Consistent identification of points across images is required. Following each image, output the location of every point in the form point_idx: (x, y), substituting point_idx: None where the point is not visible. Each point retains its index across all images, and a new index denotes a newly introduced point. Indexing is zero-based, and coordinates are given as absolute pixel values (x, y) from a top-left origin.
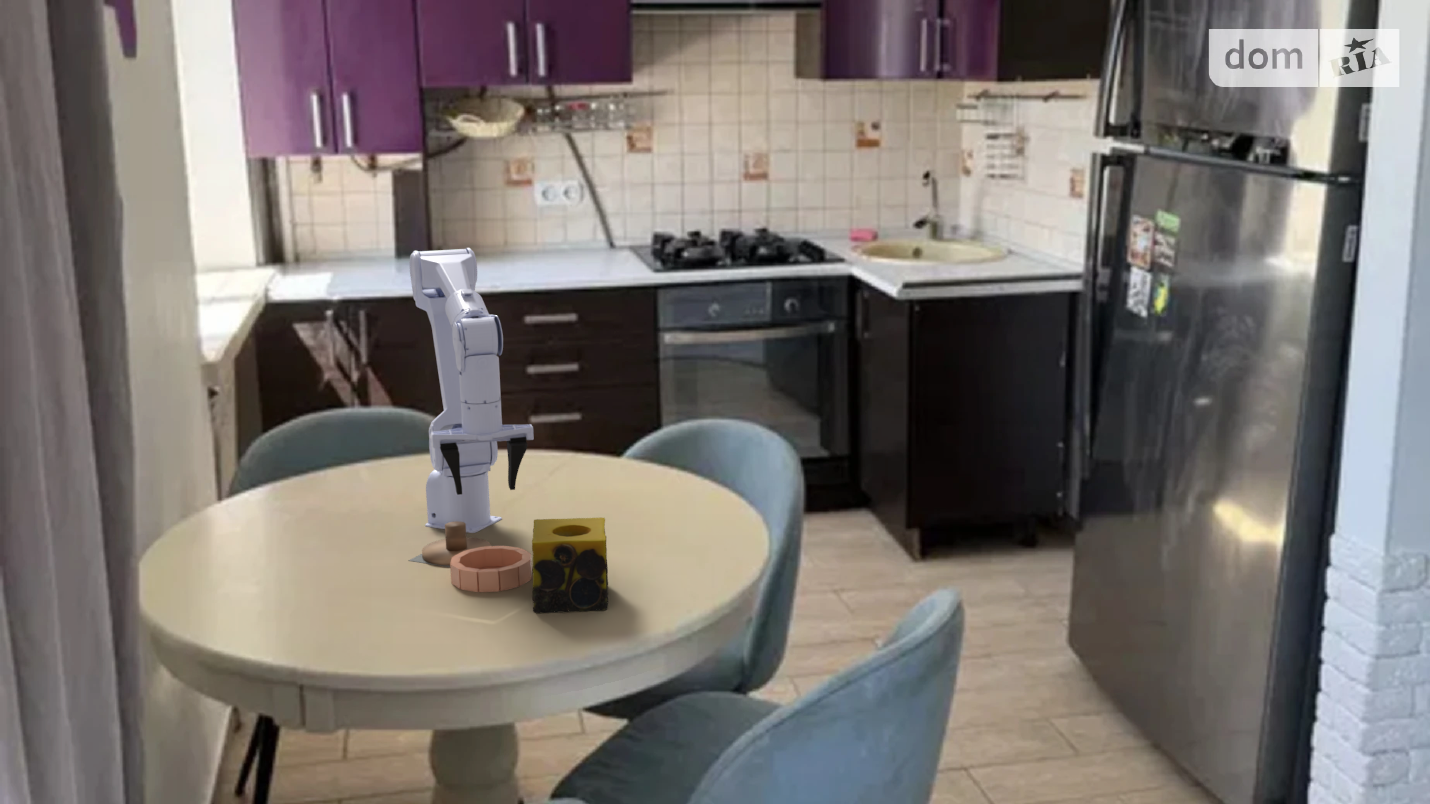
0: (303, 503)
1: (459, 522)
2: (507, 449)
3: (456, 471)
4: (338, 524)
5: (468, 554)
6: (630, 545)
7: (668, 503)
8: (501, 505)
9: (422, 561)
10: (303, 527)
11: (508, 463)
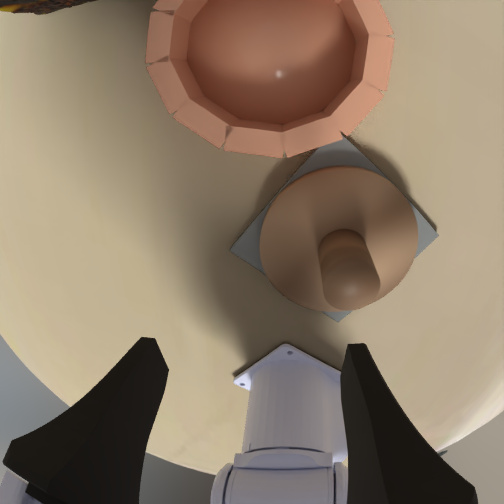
0: (435, 432)
1: (337, 300)
2: (135, 488)
3: (389, 427)
4: (442, 395)
5: (335, 109)
6: (24, 217)
7: (40, 349)
8: (234, 414)
9: (418, 218)
10: (473, 388)
11: (145, 441)
